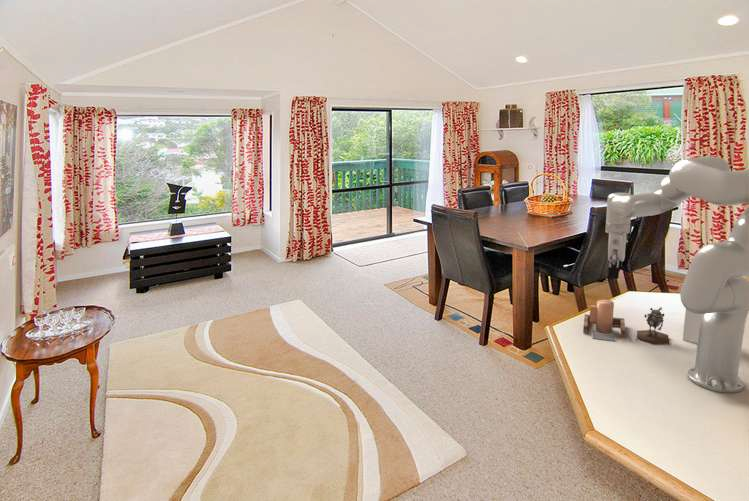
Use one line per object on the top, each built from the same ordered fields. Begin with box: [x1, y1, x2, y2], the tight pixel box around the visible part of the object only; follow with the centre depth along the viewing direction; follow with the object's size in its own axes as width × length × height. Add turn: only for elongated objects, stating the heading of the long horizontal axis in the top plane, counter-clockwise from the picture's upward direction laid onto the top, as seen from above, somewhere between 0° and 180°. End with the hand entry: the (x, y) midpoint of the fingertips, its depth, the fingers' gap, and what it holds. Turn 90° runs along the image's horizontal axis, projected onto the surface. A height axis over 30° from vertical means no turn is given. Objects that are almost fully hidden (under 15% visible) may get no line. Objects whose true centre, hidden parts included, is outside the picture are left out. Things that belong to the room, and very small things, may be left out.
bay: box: [582, 314, 627, 339], centre depth 159 cm, size 12×13×3 cm
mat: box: [592, 332, 616, 342], centre depth 153 cm, size 5×7×1 cm
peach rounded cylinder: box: [589, 299, 615, 334], centre depth 158 cm, size 6×8×11 cm
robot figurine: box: [636, 306, 670, 345], centre depth 149 cm, size 11×9×12 cm
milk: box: [682, 308, 702, 345], centre depth 144 cm, size 6×6×22 cm
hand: (614, 274), depth 155 cm, fingers open, 9 cm apart
